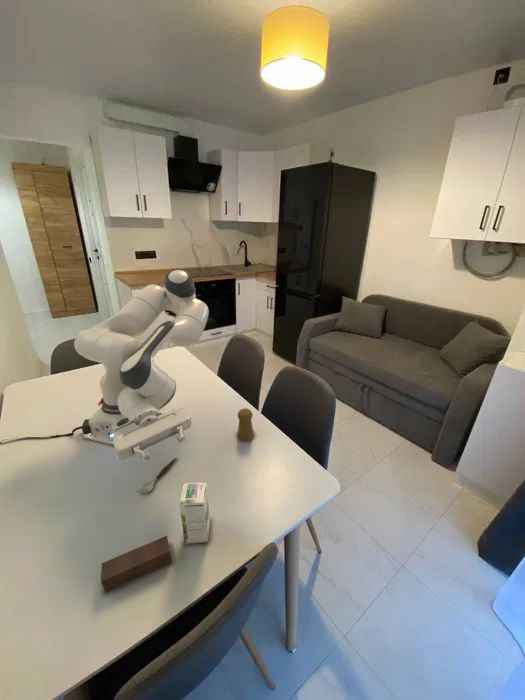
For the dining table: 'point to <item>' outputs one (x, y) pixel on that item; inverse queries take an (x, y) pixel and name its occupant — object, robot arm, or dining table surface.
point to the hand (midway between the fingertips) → (165, 448)
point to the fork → (150, 486)
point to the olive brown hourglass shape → (245, 425)
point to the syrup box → (195, 512)
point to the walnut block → (135, 563)
